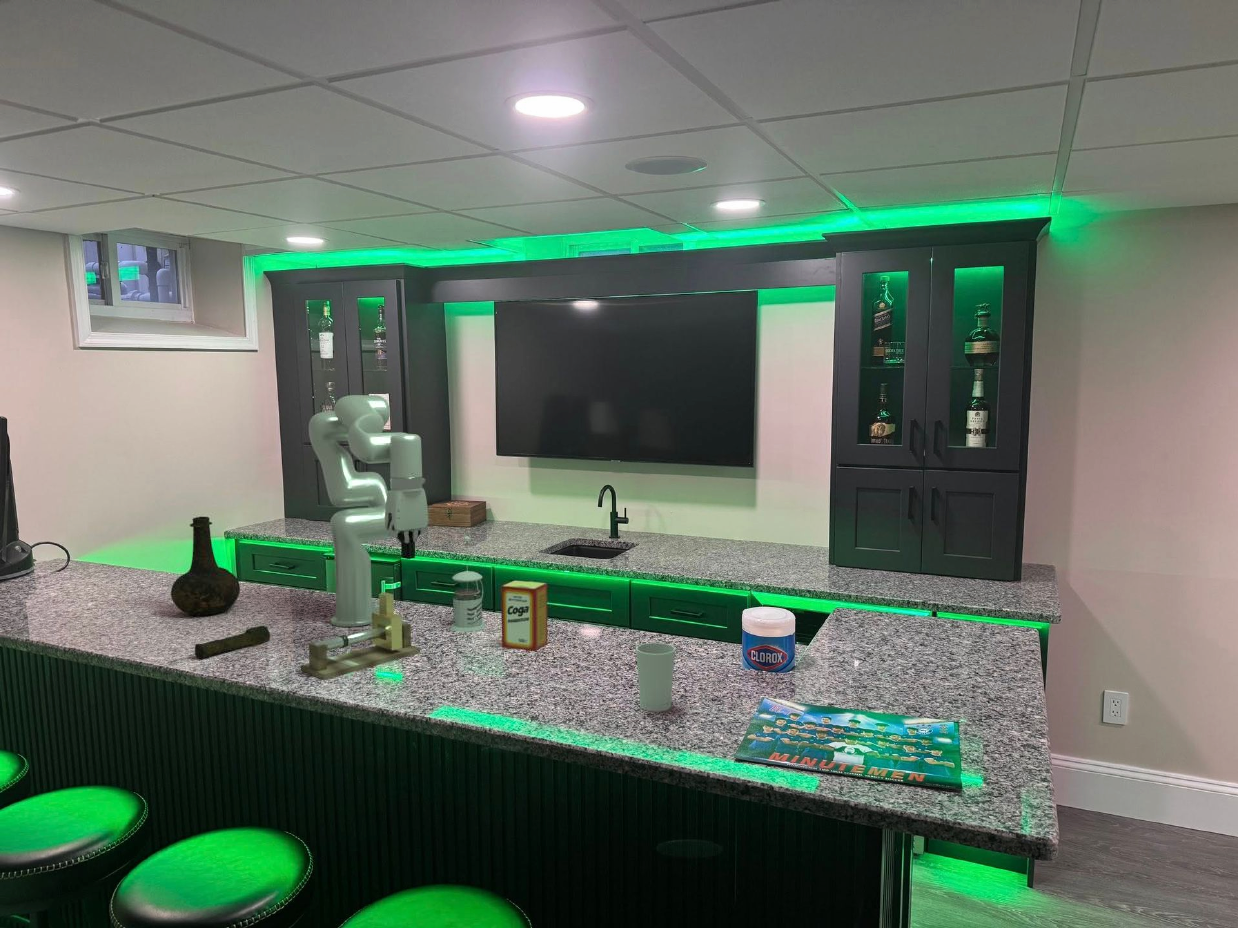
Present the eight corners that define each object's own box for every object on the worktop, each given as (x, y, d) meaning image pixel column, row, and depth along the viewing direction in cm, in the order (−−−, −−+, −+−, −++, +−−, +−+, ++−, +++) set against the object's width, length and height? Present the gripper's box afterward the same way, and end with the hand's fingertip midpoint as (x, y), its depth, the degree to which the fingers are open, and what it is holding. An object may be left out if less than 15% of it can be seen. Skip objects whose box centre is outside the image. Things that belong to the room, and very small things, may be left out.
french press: (442, 629, 230) (441, 537, 228) (465, 618, 241) (464, 531, 239) (473, 633, 227) (472, 540, 225) (496, 622, 237) (495, 533, 235)
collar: (382, 641, 211) (381, 590, 210) (402, 647, 206) (401, 595, 205) (372, 643, 209) (371, 592, 208) (391, 650, 204) (390, 597, 203)
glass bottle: (253, 607, 254) (250, 514, 252) (206, 622, 237) (202, 522, 235) (206, 602, 260) (203, 511, 257) (157, 617, 243) (153, 519, 240)
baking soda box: (502, 646, 214) (501, 584, 213) (514, 639, 220) (513, 579, 219) (535, 651, 211) (535, 587, 209) (547, 643, 217) (547, 582, 215)
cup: (634, 699, 177) (634, 643, 176) (671, 698, 178) (672, 642, 177) (638, 713, 169) (638, 654, 168) (677, 712, 170) (678, 653, 169)
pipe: (400, 630, 212) (400, 619, 212) (407, 632, 210) (407, 621, 210) (312, 652, 194) (312, 640, 194) (319, 655, 192) (318, 643, 192)
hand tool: (202, 661, 203) (201, 642, 203) (193, 658, 205) (193, 639, 205) (275, 643, 218) (275, 625, 218) (267, 640, 220) (266, 623, 220)
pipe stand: (396, 645, 216) (395, 618, 215) (420, 652, 209) (419, 625, 209) (300, 670, 196) (299, 641, 195) (324, 679, 189) (323, 649, 189)
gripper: (422, 481, 217) (423, 552, 219) (371, 485, 206) (373, 560, 207) (440, 482, 213) (442, 555, 214) (389, 487, 201) (391, 564, 202)
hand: (408, 557), depth 211 cm, fingers closed
